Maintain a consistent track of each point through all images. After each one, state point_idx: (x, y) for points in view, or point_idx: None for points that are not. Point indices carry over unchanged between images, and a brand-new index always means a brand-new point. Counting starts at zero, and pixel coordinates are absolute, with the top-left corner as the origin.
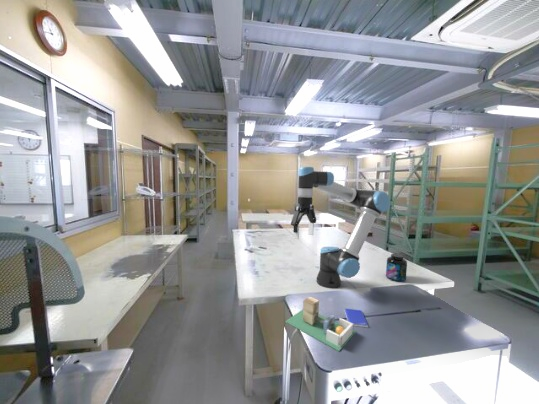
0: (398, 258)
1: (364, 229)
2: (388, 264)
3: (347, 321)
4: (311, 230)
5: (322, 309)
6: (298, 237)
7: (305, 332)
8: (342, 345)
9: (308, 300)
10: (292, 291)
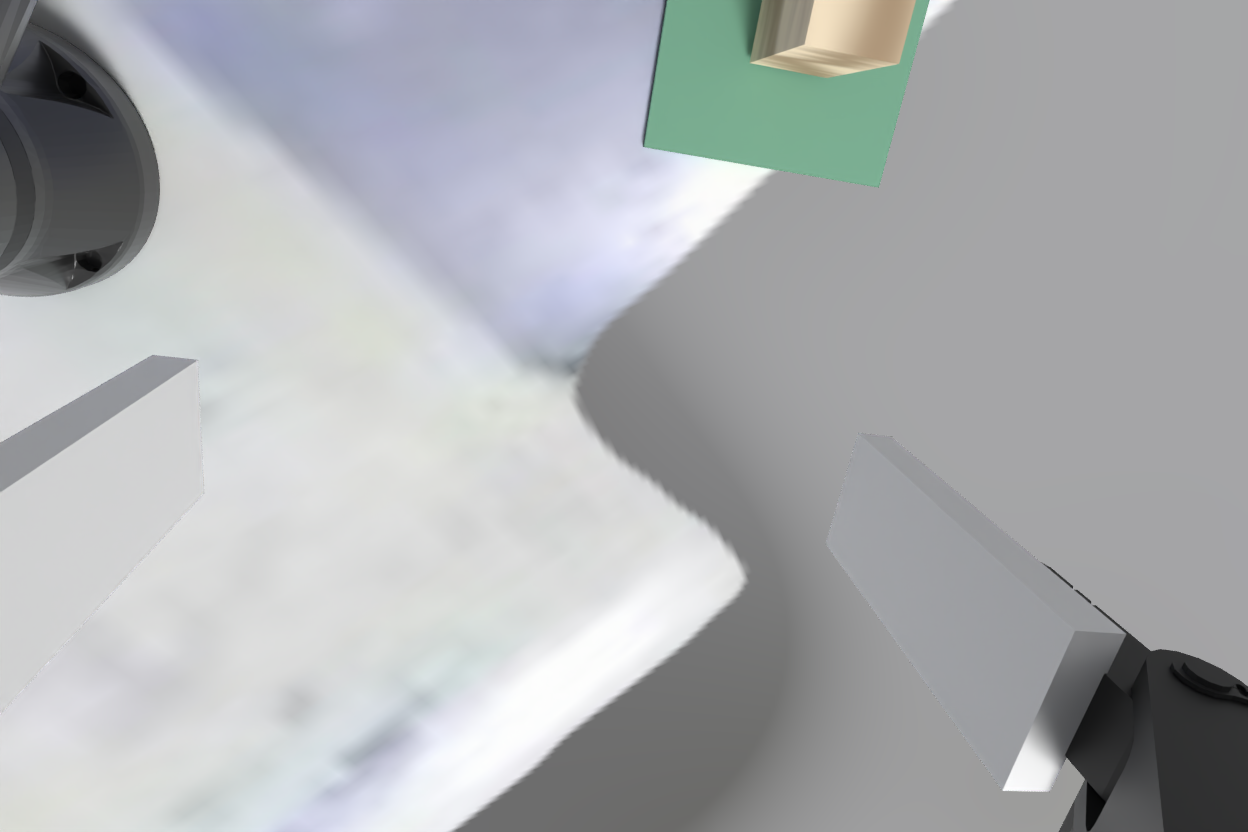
0: None
1: None
2: None
3: None
4: (125, 456)
5: (570, 11)
6: (887, 450)
7: (927, 3)
8: None
9: (882, 19)
10: (461, 362)
